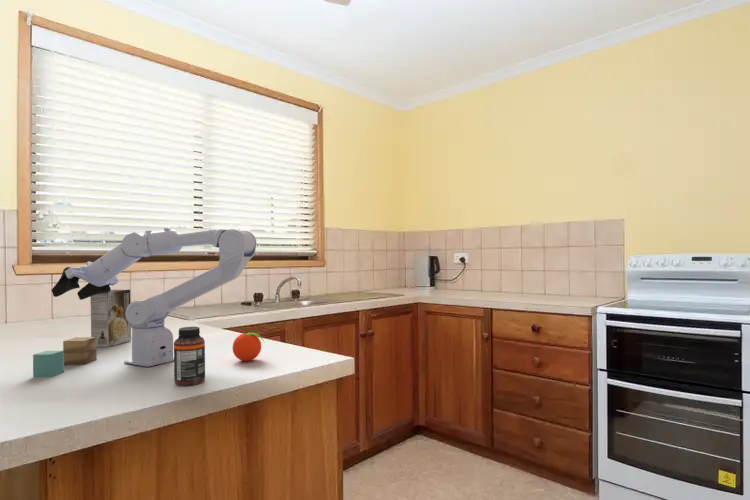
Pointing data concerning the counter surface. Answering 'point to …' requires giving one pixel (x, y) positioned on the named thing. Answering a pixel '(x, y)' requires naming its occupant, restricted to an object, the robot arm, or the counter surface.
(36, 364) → the teal block
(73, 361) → the tower lower
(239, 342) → the clementine
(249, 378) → the counter surface
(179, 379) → the supplement bottle
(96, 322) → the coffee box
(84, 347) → the tower upper
